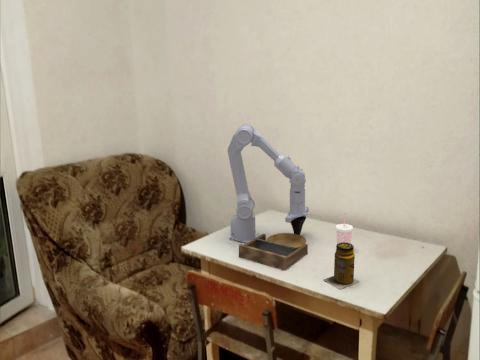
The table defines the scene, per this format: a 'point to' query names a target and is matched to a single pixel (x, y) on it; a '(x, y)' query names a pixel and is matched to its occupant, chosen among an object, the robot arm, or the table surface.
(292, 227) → the robot arm
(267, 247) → the pusher plate
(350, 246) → the condiment
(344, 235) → the beverage cup
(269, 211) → the table surface
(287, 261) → the brown wooden open box
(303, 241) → the plant saucer
